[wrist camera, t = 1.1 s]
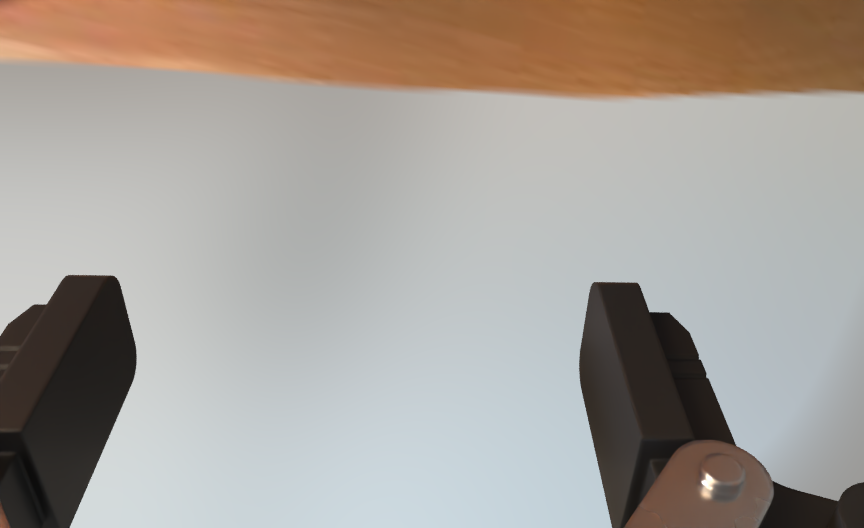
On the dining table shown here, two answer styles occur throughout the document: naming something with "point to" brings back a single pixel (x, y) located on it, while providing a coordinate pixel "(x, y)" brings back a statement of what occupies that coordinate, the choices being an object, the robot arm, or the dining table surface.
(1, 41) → the dining table surface
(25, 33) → the dining table surface
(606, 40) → the dining table surface
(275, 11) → the dining table surface
